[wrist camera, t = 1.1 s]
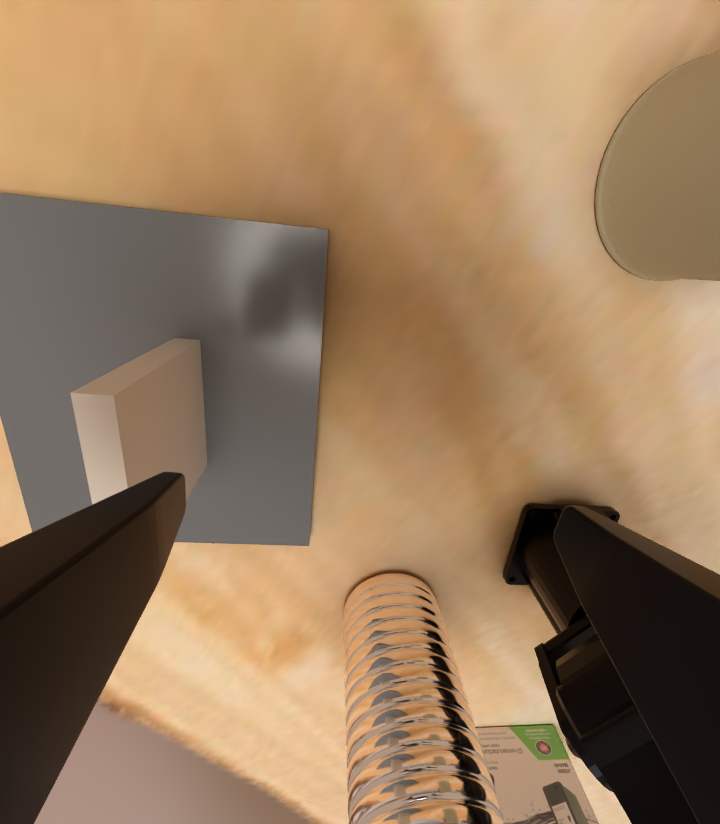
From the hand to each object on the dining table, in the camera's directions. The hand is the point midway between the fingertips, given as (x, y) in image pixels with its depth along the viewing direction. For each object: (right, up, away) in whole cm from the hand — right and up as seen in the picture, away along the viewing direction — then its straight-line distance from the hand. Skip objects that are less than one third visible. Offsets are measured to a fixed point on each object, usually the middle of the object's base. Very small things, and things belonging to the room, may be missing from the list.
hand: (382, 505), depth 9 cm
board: (-11, +3, +12) cm, 16 cm away
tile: (-9, +3, +11) cm, 15 cm away
